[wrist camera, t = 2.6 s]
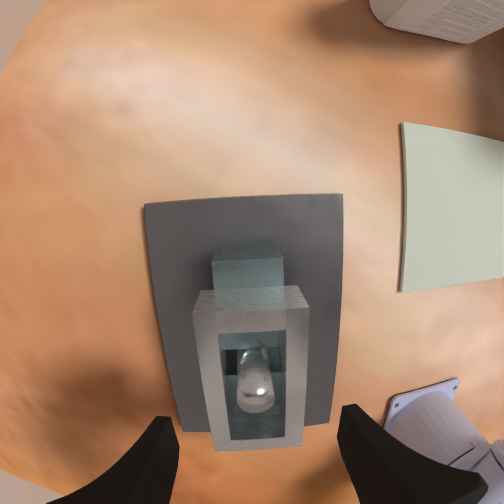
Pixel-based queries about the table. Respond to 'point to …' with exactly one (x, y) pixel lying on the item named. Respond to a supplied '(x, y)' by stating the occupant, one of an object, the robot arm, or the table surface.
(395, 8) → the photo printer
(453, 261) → the sage mat
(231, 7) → the table surface
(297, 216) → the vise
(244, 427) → the gray rectangular frame
